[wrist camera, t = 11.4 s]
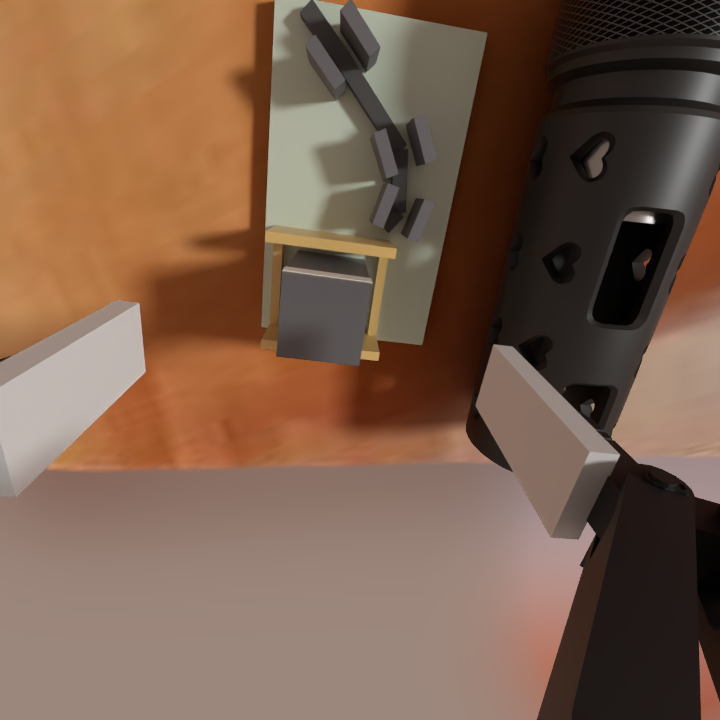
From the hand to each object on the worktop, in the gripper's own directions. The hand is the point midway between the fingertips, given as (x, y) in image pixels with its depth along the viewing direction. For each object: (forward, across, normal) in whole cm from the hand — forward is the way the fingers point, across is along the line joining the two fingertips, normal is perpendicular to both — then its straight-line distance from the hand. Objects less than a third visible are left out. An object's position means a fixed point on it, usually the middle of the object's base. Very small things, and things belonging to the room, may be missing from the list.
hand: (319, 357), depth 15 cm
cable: (+14, +1, +9) cm, 17 cm away
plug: (+14, 0, -1) cm, 14 cm away
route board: (+15, +1, +5) cm, 16 cm away
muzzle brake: (+16, +15, +5) cm, 22 cm away
